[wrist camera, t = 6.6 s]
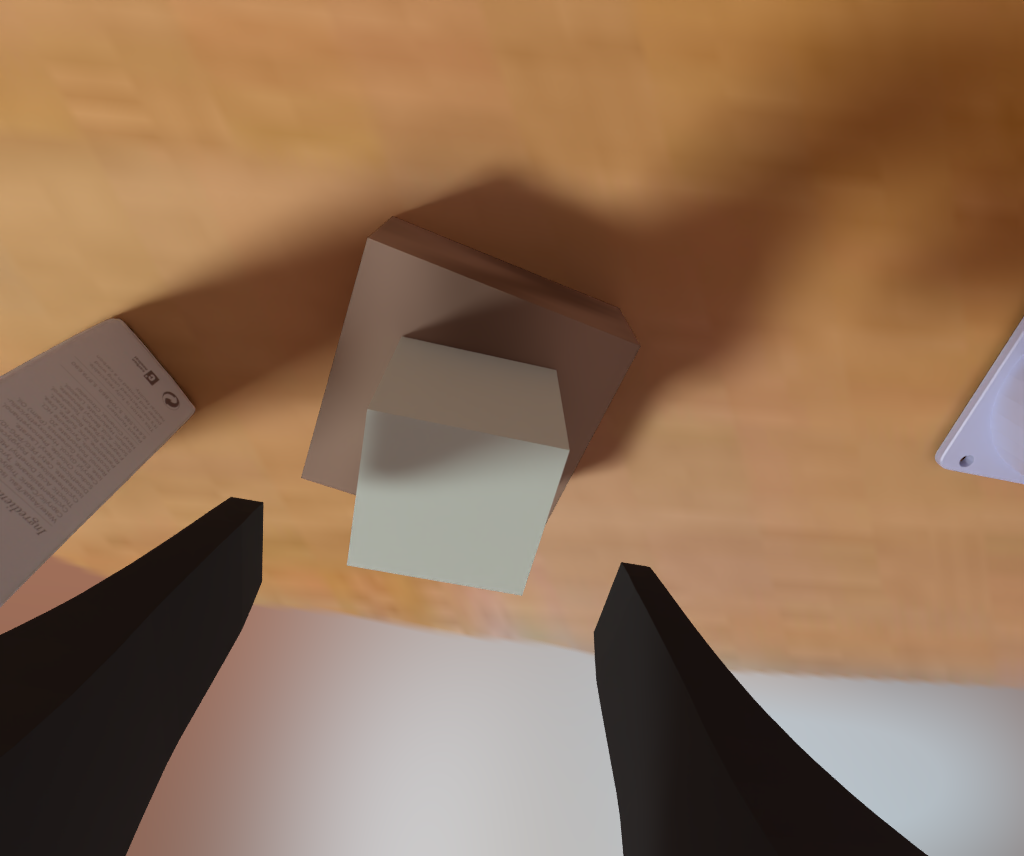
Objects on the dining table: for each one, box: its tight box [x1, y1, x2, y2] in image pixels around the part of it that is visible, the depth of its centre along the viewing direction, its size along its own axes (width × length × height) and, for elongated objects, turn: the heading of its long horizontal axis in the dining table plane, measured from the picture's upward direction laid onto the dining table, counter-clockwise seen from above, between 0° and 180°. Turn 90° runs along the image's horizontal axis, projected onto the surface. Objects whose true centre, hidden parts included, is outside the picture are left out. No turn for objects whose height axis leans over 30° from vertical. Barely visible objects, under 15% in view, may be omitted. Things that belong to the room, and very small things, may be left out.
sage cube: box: [347, 336, 570, 596], centre depth 16 cm, size 4×4×4 cm
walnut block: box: [301, 216, 640, 525], centre depth 19 cm, size 8×8×4 cm
